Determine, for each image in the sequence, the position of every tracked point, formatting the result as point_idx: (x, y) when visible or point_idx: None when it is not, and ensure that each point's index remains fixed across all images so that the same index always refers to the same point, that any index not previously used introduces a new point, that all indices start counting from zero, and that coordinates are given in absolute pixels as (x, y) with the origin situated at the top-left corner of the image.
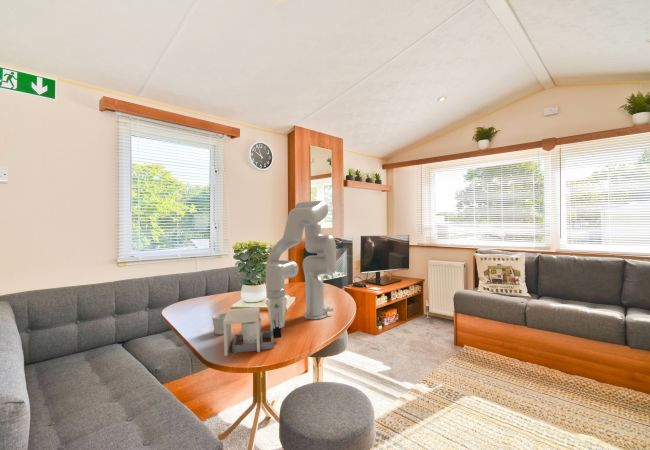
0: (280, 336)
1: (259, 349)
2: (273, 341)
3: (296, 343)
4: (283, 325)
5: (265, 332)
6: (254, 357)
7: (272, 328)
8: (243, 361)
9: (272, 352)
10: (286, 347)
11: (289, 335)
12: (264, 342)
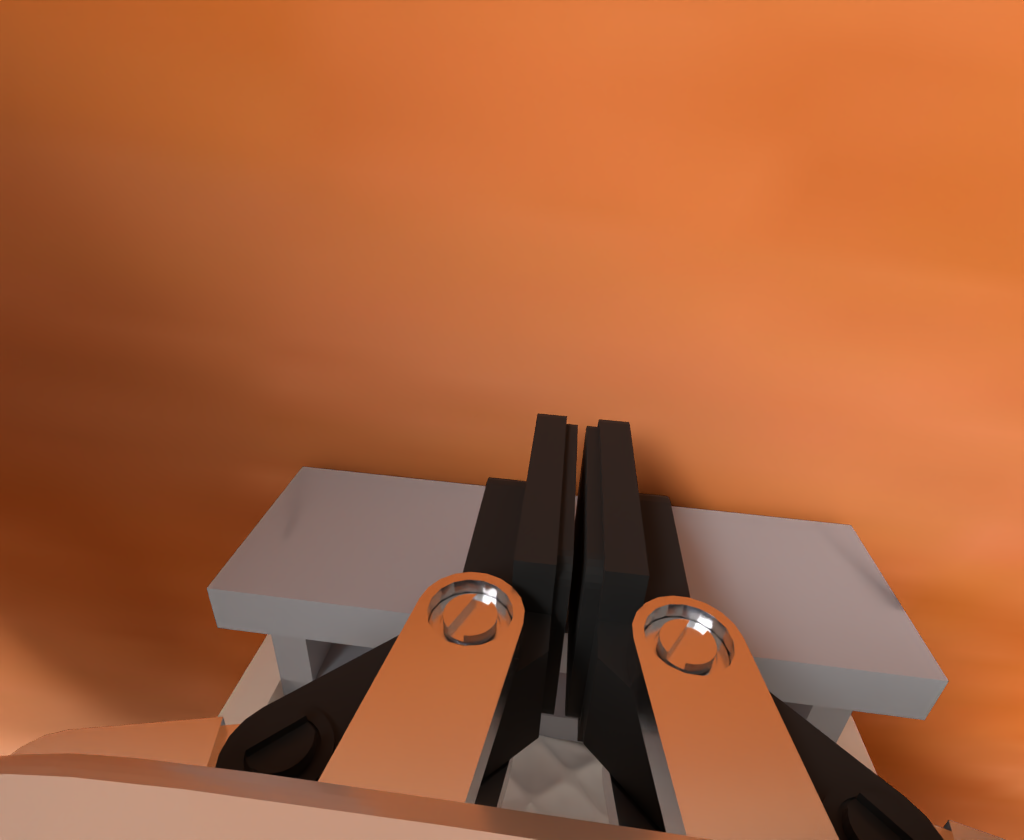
0: (630, 440)
1: (852, 723)
2: (907, 622)
3: (850, 19)
4: None
5: (308, 640)
6: (971, 749)
7: (289, 604)
8: (995, 835)
9: (980, 556)
10: (932, 305)
11: (277, 134)
12: (818, 728)
